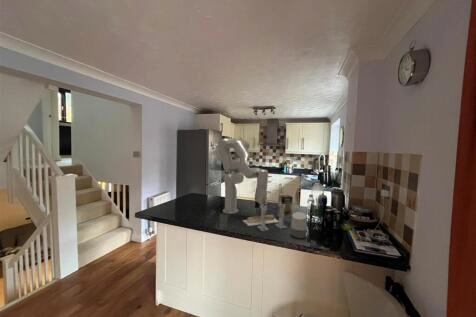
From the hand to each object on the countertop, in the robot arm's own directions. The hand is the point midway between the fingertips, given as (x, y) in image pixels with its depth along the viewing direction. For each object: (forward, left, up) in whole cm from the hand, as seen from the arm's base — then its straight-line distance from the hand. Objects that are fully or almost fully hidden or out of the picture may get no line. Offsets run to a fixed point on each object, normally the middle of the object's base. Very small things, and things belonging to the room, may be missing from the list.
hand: (260, 210), depth 149 cm
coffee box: (-3, +23, -8) cm, 25 cm away
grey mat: (+1, 0, -8) cm, 8 cm away
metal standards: (+13, +2, -8) cm, 16 cm away
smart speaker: (+30, +10, -8) cm, 33 cm away
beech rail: (+1, +1, -8) cm, 8 cm away
